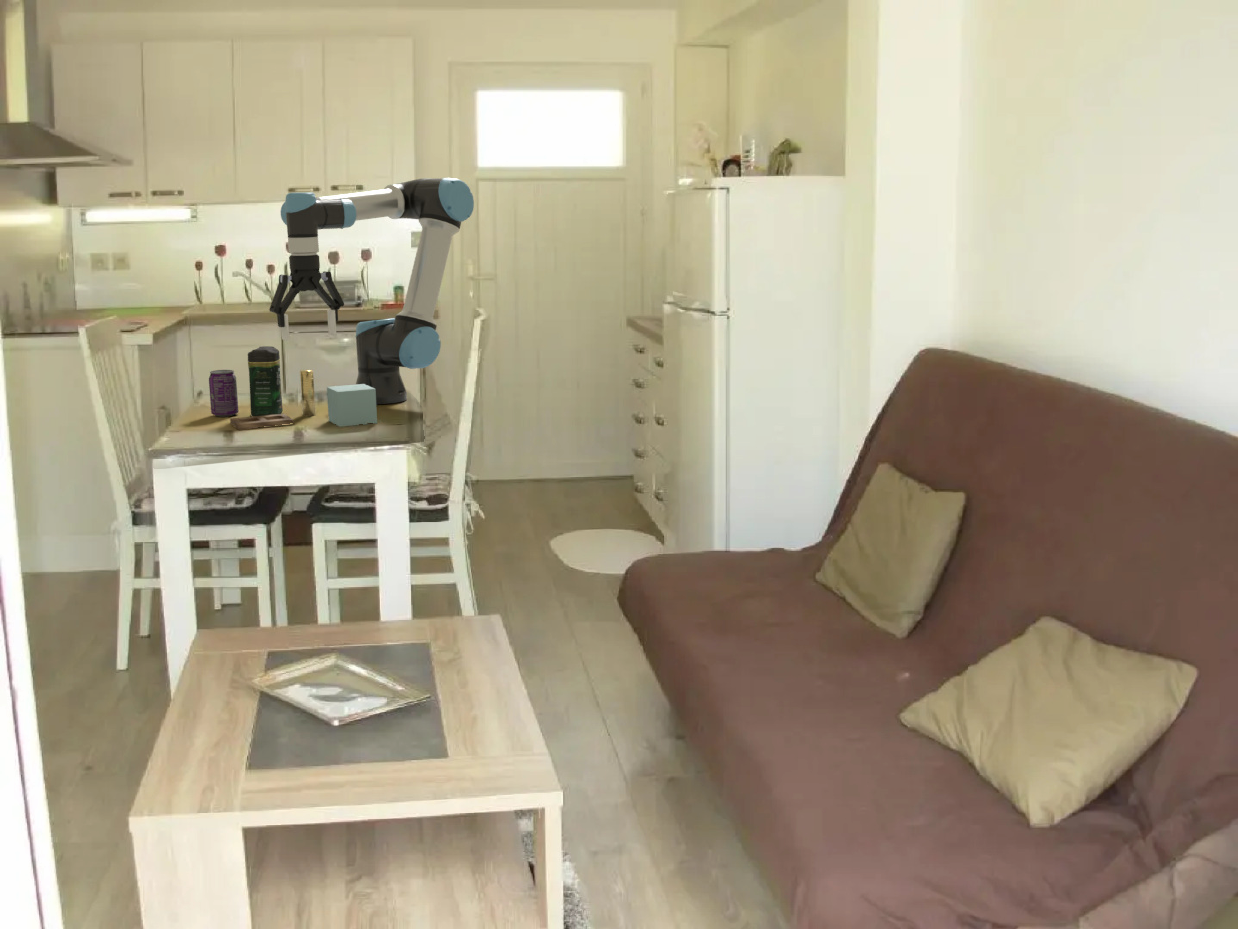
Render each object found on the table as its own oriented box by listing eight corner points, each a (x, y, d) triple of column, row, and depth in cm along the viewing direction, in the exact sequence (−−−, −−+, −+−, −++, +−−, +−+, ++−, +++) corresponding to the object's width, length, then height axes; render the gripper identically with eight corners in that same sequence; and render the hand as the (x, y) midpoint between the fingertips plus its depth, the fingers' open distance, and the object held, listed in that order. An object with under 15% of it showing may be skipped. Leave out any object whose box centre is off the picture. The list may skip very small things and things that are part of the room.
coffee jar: (278, 418, 366) (273, 348, 362) (248, 418, 366) (243, 349, 362) (286, 412, 376) (282, 344, 372) (257, 412, 376) (252, 344, 372)
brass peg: (313, 413, 373) (311, 369, 371) (317, 415, 370) (314, 370, 368) (301, 414, 372) (298, 370, 369) (304, 416, 369) (301, 371, 366)
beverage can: (228, 412, 376) (225, 368, 374) (244, 414, 372) (241, 370, 370) (206, 415, 371) (202, 371, 369) (221, 418, 367) (218, 373, 364)
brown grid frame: (284, 418, 365) (283, 413, 365) (293, 424, 356) (293, 419, 356) (230, 423, 359) (230, 418, 358) (239, 429, 350) (238, 424, 350)
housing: (365, 417, 366) (363, 383, 364) (377, 423, 357) (375, 388, 355) (328, 420, 361) (326, 386, 360) (339, 426, 353) (337, 391, 351)
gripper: (339, 250, 361) (344, 331, 366) (252, 256, 345) (258, 340, 349) (354, 251, 356) (359, 333, 360) (266, 257, 339) (272, 343, 344)
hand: (309, 337), depth 355 cm, fingers open, 13 cm apart
